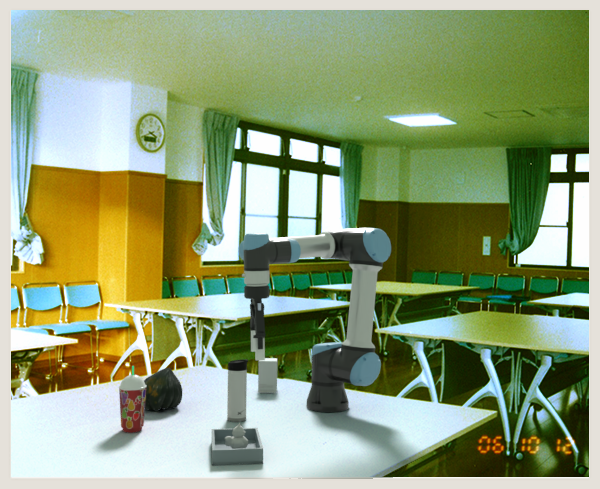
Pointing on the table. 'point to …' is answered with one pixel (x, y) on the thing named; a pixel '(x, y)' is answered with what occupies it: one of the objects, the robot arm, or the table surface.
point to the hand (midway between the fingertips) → (257, 355)
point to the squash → (162, 390)
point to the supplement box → (267, 375)
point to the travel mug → (237, 390)
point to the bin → (236, 456)
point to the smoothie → (132, 403)
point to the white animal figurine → (237, 438)
